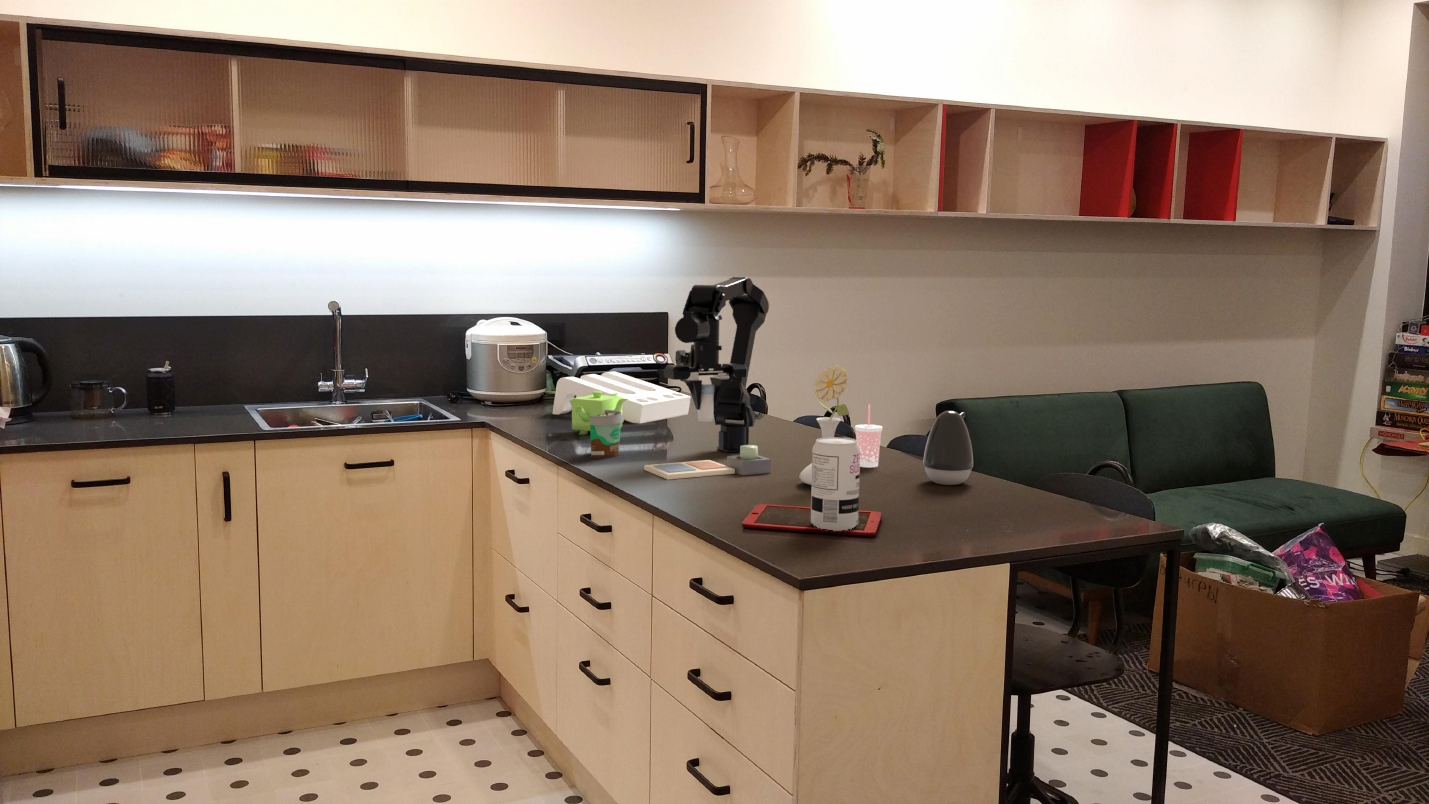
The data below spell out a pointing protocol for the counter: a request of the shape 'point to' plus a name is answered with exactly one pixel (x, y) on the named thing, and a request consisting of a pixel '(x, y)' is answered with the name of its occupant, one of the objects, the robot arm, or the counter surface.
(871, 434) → the beverage cup
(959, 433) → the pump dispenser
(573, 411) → the kettle
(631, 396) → the bracket
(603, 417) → the food container
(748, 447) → the button
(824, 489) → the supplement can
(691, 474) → the picture board
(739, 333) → the robot arm
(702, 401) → the capped clear jar
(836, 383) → the flower in vase
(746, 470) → the button housing
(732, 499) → the counter surface
